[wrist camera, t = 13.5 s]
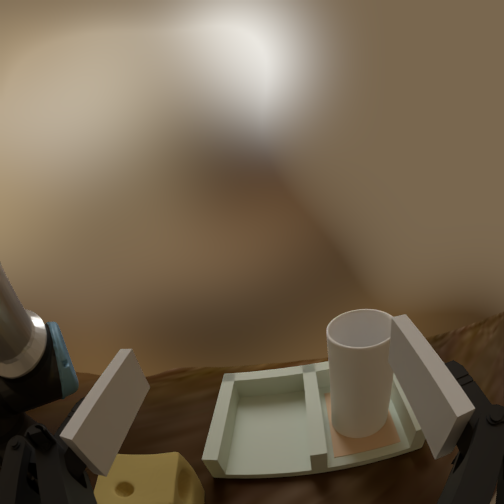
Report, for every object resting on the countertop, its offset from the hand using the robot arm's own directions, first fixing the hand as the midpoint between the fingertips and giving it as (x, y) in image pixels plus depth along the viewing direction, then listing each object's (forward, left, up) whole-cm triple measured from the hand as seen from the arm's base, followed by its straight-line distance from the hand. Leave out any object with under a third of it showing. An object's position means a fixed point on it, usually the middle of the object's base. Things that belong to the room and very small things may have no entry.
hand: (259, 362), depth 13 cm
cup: (0, +18, -25) cm, 31 cm away
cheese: (-14, -8, -27) cm, 31 cm away
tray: (-6, +16, -26) cm, 31 cm away
